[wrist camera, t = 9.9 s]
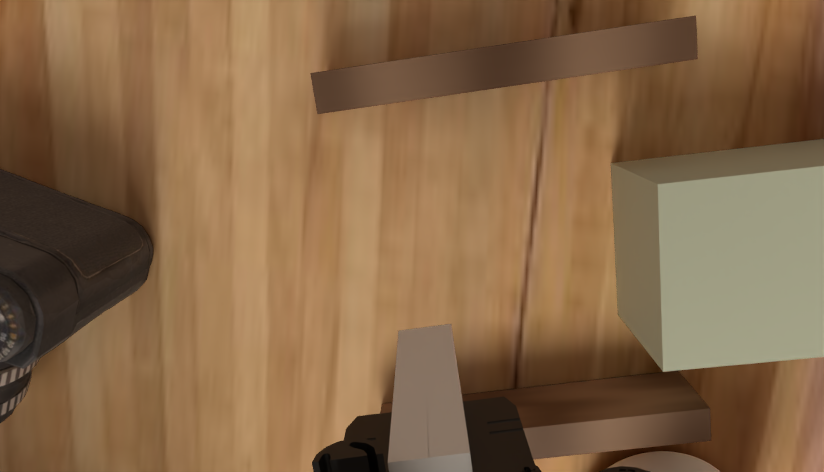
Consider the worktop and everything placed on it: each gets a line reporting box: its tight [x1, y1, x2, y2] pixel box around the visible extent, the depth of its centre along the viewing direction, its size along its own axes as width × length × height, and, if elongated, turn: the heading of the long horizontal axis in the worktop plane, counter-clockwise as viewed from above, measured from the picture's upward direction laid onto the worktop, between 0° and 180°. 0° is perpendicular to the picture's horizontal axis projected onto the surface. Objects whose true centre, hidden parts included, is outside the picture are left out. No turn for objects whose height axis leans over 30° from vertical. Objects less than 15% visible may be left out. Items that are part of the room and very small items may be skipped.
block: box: [611, 139, 824, 372], centre depth 25 cm, size 9×7×6 cm
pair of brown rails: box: [311, 16, 711, 459], centre depth 26 cm, size 14×17×4 cm
